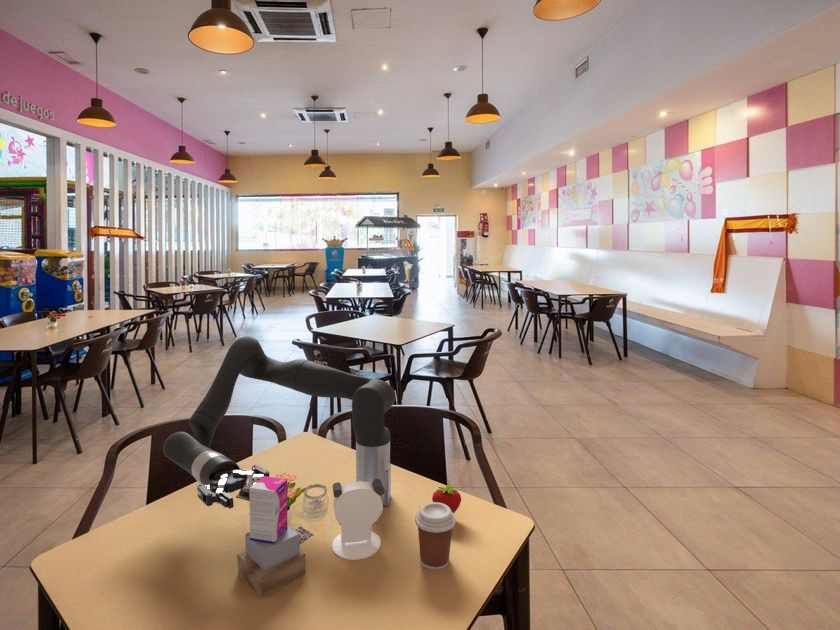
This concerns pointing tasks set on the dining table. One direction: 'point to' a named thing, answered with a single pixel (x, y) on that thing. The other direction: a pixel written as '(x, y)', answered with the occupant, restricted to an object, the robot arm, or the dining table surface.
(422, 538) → the coffee cup
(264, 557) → the grey top block
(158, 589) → the dining table surface
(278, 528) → the supplement box
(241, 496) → the brown flat rounded lump
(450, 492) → the strawberry
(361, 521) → the panda figurine
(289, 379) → the robot arm
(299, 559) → the walnut base block
